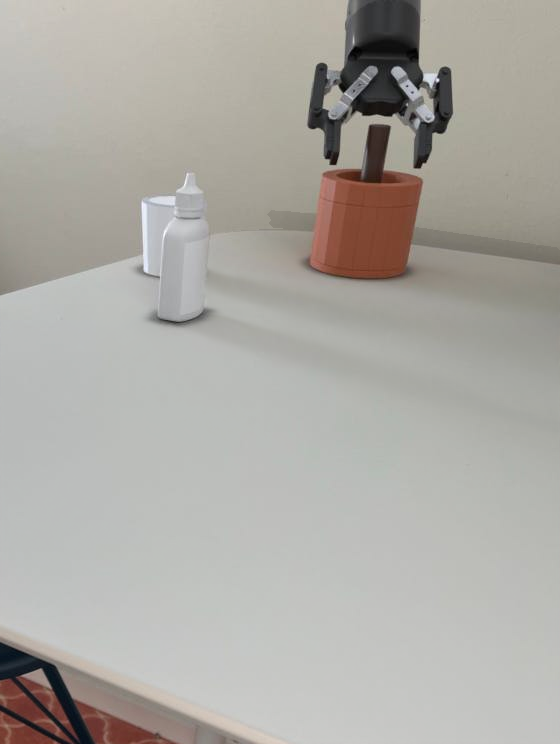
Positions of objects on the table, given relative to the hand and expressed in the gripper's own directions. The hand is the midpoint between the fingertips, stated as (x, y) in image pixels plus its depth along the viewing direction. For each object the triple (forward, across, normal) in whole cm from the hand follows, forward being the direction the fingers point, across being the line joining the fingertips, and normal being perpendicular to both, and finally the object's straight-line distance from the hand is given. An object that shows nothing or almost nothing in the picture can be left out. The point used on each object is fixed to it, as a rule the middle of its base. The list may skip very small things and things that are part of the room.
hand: (376, 162), depth 101 cm
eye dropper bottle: (+22, -19, -7) cm, 30 cm away
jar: (+6, 0, +8) cm, 11 cm away
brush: (+6, 0, +8) cm, 10 cm away
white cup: (+11, -20, +5) cm, 23 cm away
